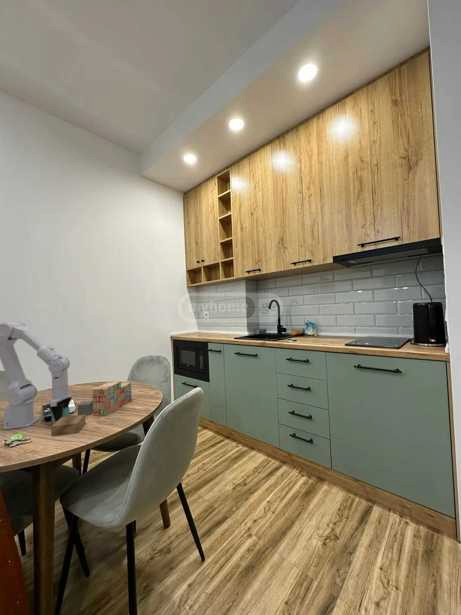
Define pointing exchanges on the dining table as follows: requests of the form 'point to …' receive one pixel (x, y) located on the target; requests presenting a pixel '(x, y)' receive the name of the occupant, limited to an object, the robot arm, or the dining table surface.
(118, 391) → the stack of blocks
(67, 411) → the teal cube
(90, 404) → the charcoal cube
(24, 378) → the robot arm
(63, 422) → the walnut block
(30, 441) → the dining table surface
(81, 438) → the dining table surface
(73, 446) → the dining table surface
